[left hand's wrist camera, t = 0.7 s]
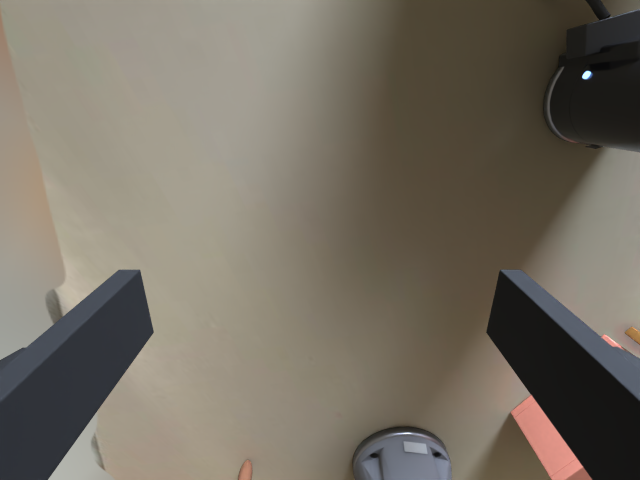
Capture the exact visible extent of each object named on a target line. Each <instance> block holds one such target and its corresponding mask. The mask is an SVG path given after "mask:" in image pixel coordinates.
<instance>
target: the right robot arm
mask: <svg viewBox="0 0 640 480" xmlns="http://www.w3.org/2000/svg"><path fill="white" fill-rule="evenodd" d="M586 1H587V3H588V4H589V5H590V7H591V8H592V10H593V12H594V13H595V15H596V16H597V17H598V19H599V21H596V22H592V23H589V24H585V25H582V26H578V27H575V28H571V29H568V30H567V52H566V53H563V54H561V55H560V56H559V67H558V69H557V70H556V72H555V73H554V75H553V76H552V78H551V80H550V82H549V84H548V87H547V89H546V93H545V97H544V116H545V120H546V122H547V125H548V127H549V128H550V130H551V131H552V132H553V133H554V134H555V135H556V136H557V137H559V138H561V139H563V140H565V141H568V142H573V143H581V144H590V145H589V146H586V147H589V148H594V149H596V148H600V147H603V146H604V147H610V148H616V149H622V150H628V151H634V152H640V9H638V10H634V11H631V12H627V13H624V14H620V15H617V16H613V17H610V18H609V16H610V15H611V14H610V13H609V12H608V11H607V9H606V8H605V7H604V5H603V3H602V2H601V0H586Z"/></svg>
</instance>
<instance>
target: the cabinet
mask: <svg viewBox="0 0 640 480" xmlns="http://www.w3.org/2000/svg"><path fill="white" fill-rule="evenodd" d="M602 338H603V339H604V340H605V341H606V342H608V343H609V344H610V345H611V346H612V347H619V348H621V346H620V345H619V344H617V343H616V342H614V341H613V340H612V339H610V338H609V337H607V336H606V335H603V336H602ZM621 349H622V348H621ZM623 350H624V349H623ZM511 414H512V415H513V417H514V418H515V420H516V422H517V424H518V425H519V427H520V428H521V430H522V432H523V433H524V435H525V437H526V438H527V440H528V442H529V443H530V445H531V446H532V448H533V450H534V451H535V453H536V455H537V456H538V458H539V460H540V461H541V463H542V465H543V466H544V468H545V469H546V471H547V473H548V474H549V476H550V478H551V479H552V480H592V479H591V477H590V476H589V474H588V473H587V472H586V470H585V469H584V468H583V466H582V465H581V463H580V462H579V461H578V459H577V458H576V456H575V455H574V454H573V452H572V451H571V449H570V448H569V447H568V445H567V444H566V442H565V441H564V440H563V438H562V437H561V436H560V434H559V433H558V431H557V430H556V429H555V427H554V426H553V424H552V423H551V422H550V420H549V419H548V417H547V416H546V415H545V413H544V412H543V410H542V409H541V408H540V406H539V405H538V404H537V402H536V401H535V399H534V398H533V397H532V395H531V396H529V397H528V398H527V399H526V400H525V401H523V402H522V403H521V404H520V405H519V406H517V407H516V408H515V409H514V410H513V411H511Z"/></svg>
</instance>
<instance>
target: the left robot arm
mask: <svg viewBox="0 0 640 480" xmlns="http://www.w3.org/2000/svg"><path fill="white" fill-rule="evenodd" d="M153 333H154V332H153V327H152V322H151V318H150V313H149V309H148V304H147V299H146V295H145V290H144V286H143V281H142V277H141V272H140V270H118V271H117V272H116V273H115V274H113V275H112V276H111V277H110V278H109V279H107V280H106V281H105V282H104V283H103V284H102V285H100V286H99V287H98V288H97V289H96V290H94V291H93V292H92V293H91V294H90V295H88V296H87V297H86V298H85V299H84V300H82V301H81V302H80V303H79V304H78V305H77V306H75V307H74V308H73V309H72V310H71V311H69V312H68V313H67V314H66V315H65V316H63V317H62V318H61V319H60V320H59V321H57V322H56V323H55V324H54V325H53V326H52V327H50V328H49V329H48V330H47V331H46V332H44V333H43V334H42V335H41V336H40V337H38V338H37V339H36V340H35V341H34V342H33V343H31V344H30V345H29V346H28V347H27V348H21V349H20V350H18V351H16V352H14V353H12V354H11V355H9V356H7V357H5V358H3V359H1V360H0V480H48V479H49V477H50V476H51V474H52V473H53V472H54V470H55V469H56V468H57V466H58V465H59V463H60V462H61V461H62V459H63V458H64V456H65V455H66V454H67V452H68V451H69V449H70V448H71V447H72V445H73V444H74V442H75V441H76V440H77V438H78V437H79V435H80V434H81V433H82V431H83V430H84V429H85V427H86V426H87V424H88V423H89V422H90V420H91V419H92V417H93V416H94V415H95V413H96V412H97V410H98V409H99V408H100V406H101V405H102V404H103V402H104V401H105V399H106V398H107V397H108V395H109V394H110V392H111V391H112V390H113V388H114V387H115V385H116V384H117V383H118V381H119V380H120V378H121V377H122V376H123V374H124V373H125V372H126V370H127V369H128V367H129V366H130V365H131V363H132V362H133V360H134V359H135V358H136V356H137V355H138V353H139V352H140V351H141V349H142V348H143V346H144V345H145V344H146V342H147V341H148V340H149V338H150V337H151V335H152V334H153ZM486 333H487V334H488V335H489V337H490V338H491V340H492V341H493V342H494V344H495V345H496V347H497V348H498V349H499V351H500V352H501V353H502V355H503V356H504V358H505V359H506V360H507V362H508V363H509V365H510V366H511V367H512V369H513V370H514V372H515V373H516V374H517V376H518V377H519V378H520V380H521V381H522V383H523V384H524V385H525V387H526V388H527V390H528V391H529V392H530V394H531V395H532V397H533V398H534V399H535V401H536V402H537V404H538V405H539V406H540V408H541V409H542V410H543V412H544V413H545V415H546V416H547V417H548V419H549V420H550V422H551V423H552V424H553V426H554V427H555V429H556V430H557V431H558V433H559V434H560V436H561V437H562V438H563V440H564V441H565V442H566V444H567V445H568V447H569V448H570V449H571V451H572V452H573V454H574V455H575V456H576V458H577V459H578V461H579V462H580V463H581V465H582V466H583V468H584V469H585V470H586V472H587V473H588V474H589V476H590V477H591V479H592V480H640V358H638V357H636V356H634V355H632V354H630V353H629V352H627V351H625V350H623V349H621V348H619V347H612V346H611V345H610V344H609V343H608V342H606V341H605V340H604V339H603V338H602V337H600V336H599V335H598V334H597V333H596V332H594V331H593V330H592V329H591V328H590V327H588V326H587V325H586V324H585V323H584V322H583V321H581V320H580V319H579V318H578V317H577V316H575V315H574V314H573V313H572V312H571V311H569V310H568V309H567V308H566V307H565V306H563V305H562V304H561V303H560V302H559V301H558V300H556V299H555V298H554V297H553V296H552V295H550V294H549V293H548V292H547V291H546V290H544V289H543V288H542V287H541V286H540V285H538V284H537V283H536V282H535V281H534V280H533V279H531V278H530V277H529V276H528V275H527V274H525V273H524V272H523V271H522V270H500V272H499V277H498V281H497V286H496V290H495V295H494V299H493V304H492V309H491V313H490V318H489V322H488V327H487V332H486ZM353 472H354V478H355V480H452V475H451V463H450V458H449V456H448V453H447V450H446V447H445V446H444V444H443V443H442V441H441V440H440V439H439V438H438V437H436V436H435V435H433V434H432V433H430V432H428V431H425V430H422V429H418V428H412V427H397V428H390V429H386V430H383V431H380V432H377V433H375V434H373V435H371V436H370V437H368V438H367V439H365V440H364V441H363V442H362V443H361V444H360V445H359V446H358V448H357V449H356V451H355V453H354V456H353Z"/></svg>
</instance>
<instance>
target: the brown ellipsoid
mask: <svg viewBox="0 0 640 480" xmlns="http://www.w3.org/2000/svg"><path fill="white" fill-rule="evenodd" d="M251 478H252V464H251V462H250V461H249V460H247V461H245V462H244V463H243V465H242V467H241V469H240V472H239V476H238V480H251Z"/></svg>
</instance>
